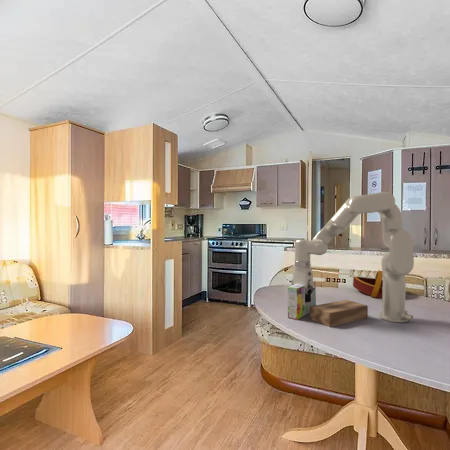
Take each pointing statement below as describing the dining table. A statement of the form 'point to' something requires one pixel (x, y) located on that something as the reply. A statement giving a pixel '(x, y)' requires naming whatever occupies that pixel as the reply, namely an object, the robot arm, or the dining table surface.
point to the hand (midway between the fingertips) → (302, 299)
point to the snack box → (299, 301)
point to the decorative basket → (370, 285)
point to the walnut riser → (338, 312)
